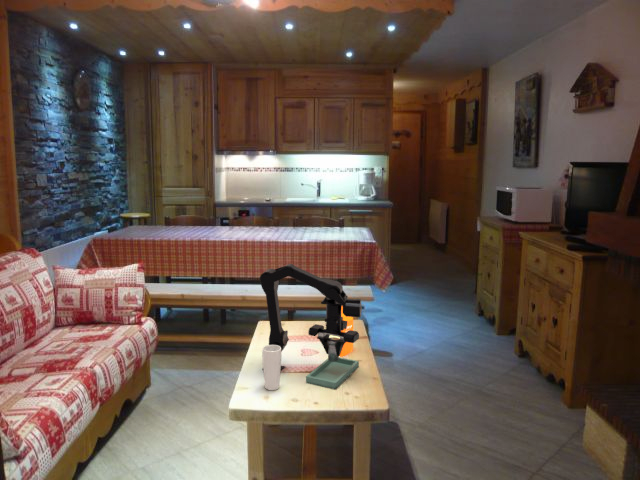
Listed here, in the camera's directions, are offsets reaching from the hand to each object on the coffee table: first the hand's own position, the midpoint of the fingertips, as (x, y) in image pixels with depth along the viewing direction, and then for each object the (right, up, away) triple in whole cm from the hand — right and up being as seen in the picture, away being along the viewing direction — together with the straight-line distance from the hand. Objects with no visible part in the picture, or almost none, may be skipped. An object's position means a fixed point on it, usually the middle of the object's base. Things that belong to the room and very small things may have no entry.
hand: (333, 354), depth 195 cm
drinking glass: (-22, -10, -10) cm, 26 cm away
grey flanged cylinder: (0, -2, 0) cm, 2 cm away
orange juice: (+4, -4, +24) cm, 24 cm away
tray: (0, -8, +1) cm, 8 cm away
